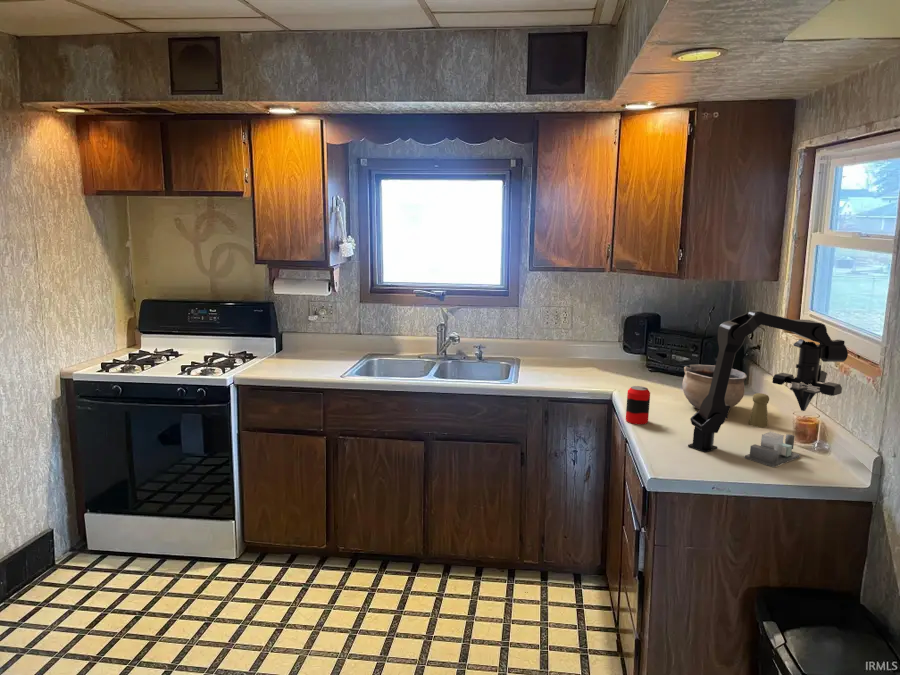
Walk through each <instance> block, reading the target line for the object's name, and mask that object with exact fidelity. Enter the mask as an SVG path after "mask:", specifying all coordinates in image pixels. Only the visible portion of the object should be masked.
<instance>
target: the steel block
mask: <svg viewBox="0 0 900 675" xmlns="http://www.w3.org/2000/svg"><path fill="white" fill-rule="evenodd" d="M784 436H785V435H784V434H781V433H778V432H774V431H769V432H765V433H763V434H761V439H760V440H761V441H760V446H762V447H766V448H769V449H773V450H776V451H778V454H777V458H778V457H780V456H781V455H782V446H783V443H784Z"/></svg>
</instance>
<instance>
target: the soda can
mask: <svg viewBox="0 0 900 675" xmlns="http://www.w3.org/2000/svg"><path fill="white" fill-rule="evenodd" d="M626 394H627V395H626V409H625V420H626V422H627V423H629V424H632V425H640V426H641V425H646V424H647V423H648V422H649V417H650V416H649V413H650V400H651V392H650V390H649V389H648V388H647V387H646V386H642V385H641V386H640V385H632V386H630V388H628V390H627V393H626Z"/></svg>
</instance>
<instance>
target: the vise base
mask: <svg viewBox="0 0 900 675" xmlns="http://www.w3.org/2000/svg"><path fill="white" fill-rule="evenodd" d="M777 454H778V451H776V450H773V449H769V448H766V447H762V446H761V445H759V444H751V445H750V450H749V453H747V454H745V455H744V459H747V460H749V461H753V462H756V463H759V464H763V465H765V466H768V467H772V468H776V467H778V466H780V465H783V464H786V463H789V462H791V461H794V460H796V459H799V458H800V457H801V454H800V453H796V452H794V451H792V452H791V455H790V456H788V457H786V456H783V455H781V456H780V457H778V458H777Z"/></svg>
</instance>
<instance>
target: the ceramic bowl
mask: <svg viewBox="0 0 900 675" xmlns="http://www.w3.org/2000/svg"><path fill="white" fill-rule="evenodd" d="M715 365H716V364H714V365H711V364H689V366H684V367H683V371H684V376H683V380H682V392H683V394H684V396H685V398H686V400H688V402H689V403H690V404H691V406H692V407H694V408H695V409H697V410H699V409H700V406H701V404H702V402H703V400H704V399H705V398H706V396H707V395H708V394H709V390H710V386H711V382H712V378H713V374H714V369H715ZM747 377H748V376H747V374H746V373H745V372H743V371H741V370H738V369H736V368H735V369H734V368H732V370H731V374H730V378H729V382H728V386H727V390H726V394H725V403H726V404H727V405H729V406H730V410H731V409H733V407H735V406H737V405H738V404H739V403H740V402H741V400H742V399H743V398H744V395H745V393H746V392H745V391H746V390H745V381H746V380H747Z"/></svg>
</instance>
